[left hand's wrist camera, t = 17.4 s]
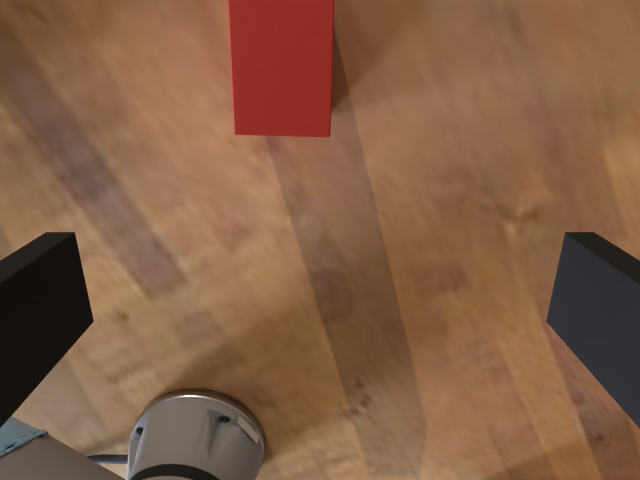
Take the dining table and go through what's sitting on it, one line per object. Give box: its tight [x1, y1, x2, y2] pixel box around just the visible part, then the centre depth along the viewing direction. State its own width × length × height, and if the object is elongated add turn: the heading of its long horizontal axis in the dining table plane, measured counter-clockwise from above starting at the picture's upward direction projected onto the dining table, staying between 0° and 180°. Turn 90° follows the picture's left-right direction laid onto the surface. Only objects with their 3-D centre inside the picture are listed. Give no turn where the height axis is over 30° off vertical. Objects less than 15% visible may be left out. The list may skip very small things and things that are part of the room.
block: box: [228, 0, 335, 137], centre depth 33 cm, size 6×8×11 cm
